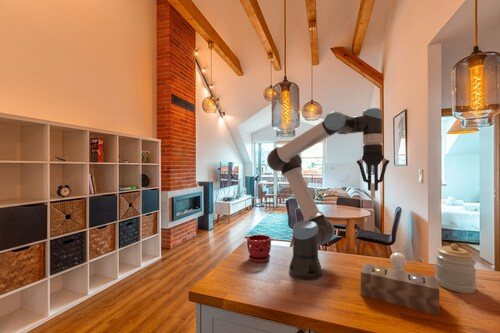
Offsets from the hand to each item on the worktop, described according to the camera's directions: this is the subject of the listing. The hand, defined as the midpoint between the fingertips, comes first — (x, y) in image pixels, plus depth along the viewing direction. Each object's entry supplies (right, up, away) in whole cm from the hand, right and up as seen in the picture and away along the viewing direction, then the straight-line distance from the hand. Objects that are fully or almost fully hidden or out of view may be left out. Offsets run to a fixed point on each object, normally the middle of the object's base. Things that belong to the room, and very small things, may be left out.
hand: (372, 198), depth 102 cm
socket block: (+2, -36, -13) cm, 39 cm away
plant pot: (-49, -37, +25) cm, 66 cm away
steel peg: (+7, -35, -17) cm, 39 cm away
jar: (+32, -37, -4) cm, 49 cm away
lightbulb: (+13, -37, +3) cm, 39 cm away
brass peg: (-3, -35, -10) cm, 37 cm away
